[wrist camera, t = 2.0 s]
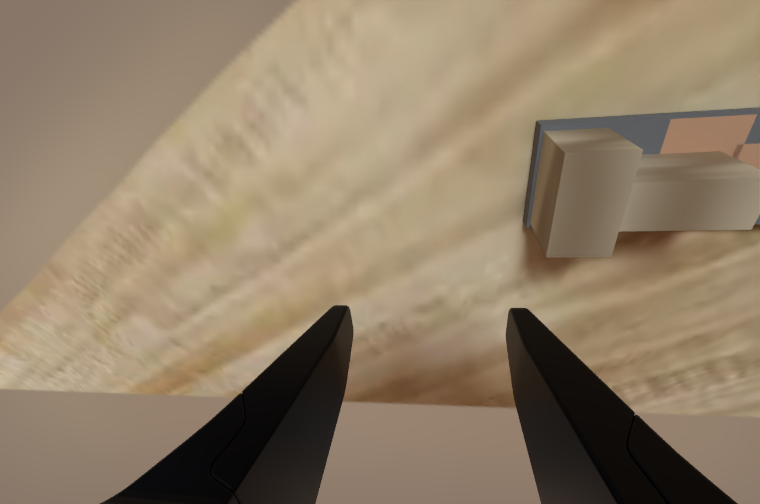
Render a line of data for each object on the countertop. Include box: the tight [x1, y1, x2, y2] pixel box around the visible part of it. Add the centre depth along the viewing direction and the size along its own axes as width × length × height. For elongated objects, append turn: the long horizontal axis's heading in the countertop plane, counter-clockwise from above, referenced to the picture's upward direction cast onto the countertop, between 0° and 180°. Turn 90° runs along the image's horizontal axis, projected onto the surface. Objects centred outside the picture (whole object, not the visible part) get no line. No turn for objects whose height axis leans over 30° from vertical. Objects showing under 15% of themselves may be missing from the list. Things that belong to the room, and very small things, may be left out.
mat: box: [523, 108, 760, 228], centre depth 16 cm, size 13×5×1 cm, turn 95°
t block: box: [530, 128, 760, 258], centre depth 15 cm, size 7×4×3 cm, turn 95°
